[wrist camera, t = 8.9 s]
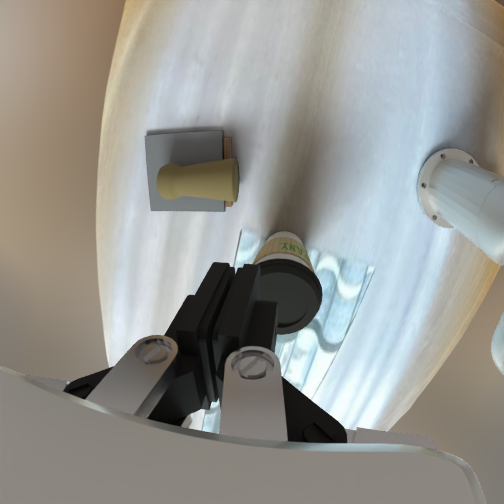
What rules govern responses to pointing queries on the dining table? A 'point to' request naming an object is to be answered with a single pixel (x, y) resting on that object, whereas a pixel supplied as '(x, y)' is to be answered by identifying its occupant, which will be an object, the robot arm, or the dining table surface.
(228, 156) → the walnut strip
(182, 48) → the dining table surface
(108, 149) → the dining table surface
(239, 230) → the dining table surface
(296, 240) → the coffee cup
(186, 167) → the cork
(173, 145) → the charcoal mat
